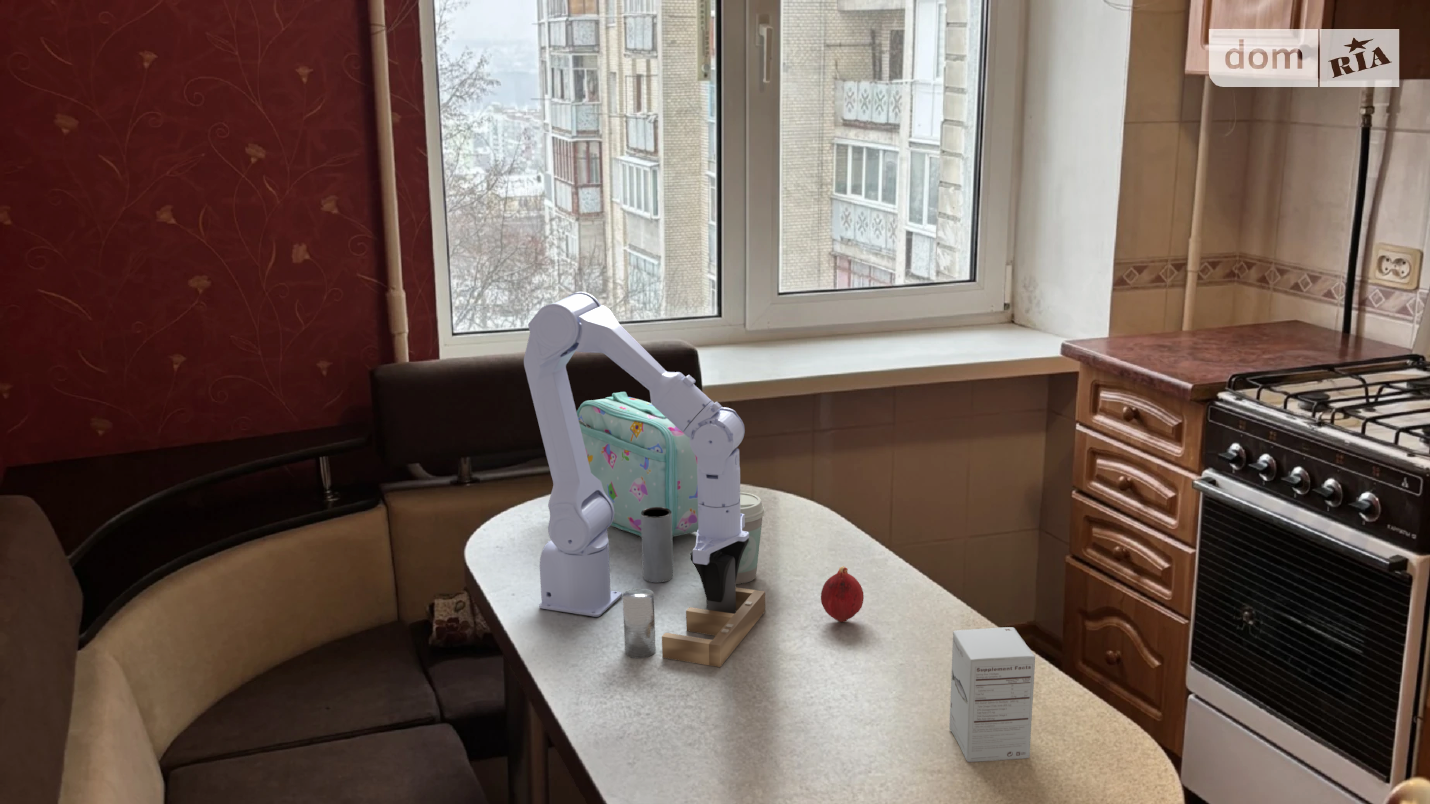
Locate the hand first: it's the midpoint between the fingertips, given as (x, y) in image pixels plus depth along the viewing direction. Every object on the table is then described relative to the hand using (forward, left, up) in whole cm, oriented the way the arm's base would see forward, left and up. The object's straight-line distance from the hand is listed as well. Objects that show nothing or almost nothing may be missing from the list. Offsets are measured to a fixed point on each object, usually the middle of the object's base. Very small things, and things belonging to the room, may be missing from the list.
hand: (720, 594), depth 173 cm
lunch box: (-26, +30, -4) cm, 40 cm away
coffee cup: (-3, +15, -4) cm, 16 cm away
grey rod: (-7, -12, -4) cm, 14 cm away
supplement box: (+40, -20, -4) cm, 45 cm away
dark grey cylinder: (0, 0, -3) cm, 3 cm away
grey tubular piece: (-14, +11, -4) cm, 18 cm away
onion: (+16, +5, -4) cm, 17 cm away
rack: (+1, -4, -4) cm, 6 cm away
